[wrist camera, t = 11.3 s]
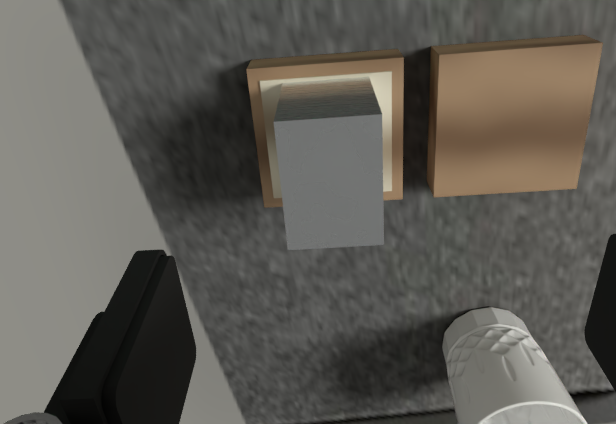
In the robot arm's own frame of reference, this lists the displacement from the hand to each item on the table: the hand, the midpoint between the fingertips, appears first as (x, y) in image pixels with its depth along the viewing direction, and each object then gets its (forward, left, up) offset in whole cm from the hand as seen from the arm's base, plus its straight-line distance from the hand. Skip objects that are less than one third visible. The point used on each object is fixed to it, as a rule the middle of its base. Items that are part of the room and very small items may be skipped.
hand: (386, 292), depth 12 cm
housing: (+4, -1, -21) cm, 21 cm away
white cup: (+23, +10, -24) cm, 35 cm away
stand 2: (+4, +10, -24) cm, 26 cm away
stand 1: (+4, -1, -24) cm, 24 cm away
